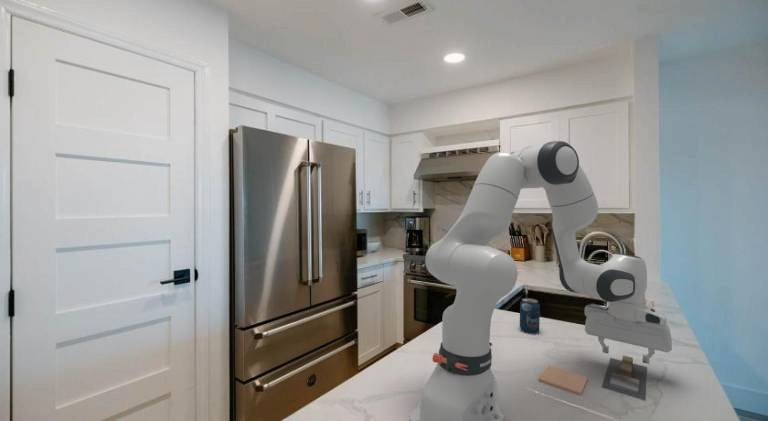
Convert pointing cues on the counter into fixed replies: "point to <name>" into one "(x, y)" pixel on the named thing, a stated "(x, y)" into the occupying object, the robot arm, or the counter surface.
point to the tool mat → (637, 373)
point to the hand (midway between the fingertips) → (625, 357)
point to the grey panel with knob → (625, 377)
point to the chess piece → (651, 303)
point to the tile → (563, 379)
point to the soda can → (529, 315)
